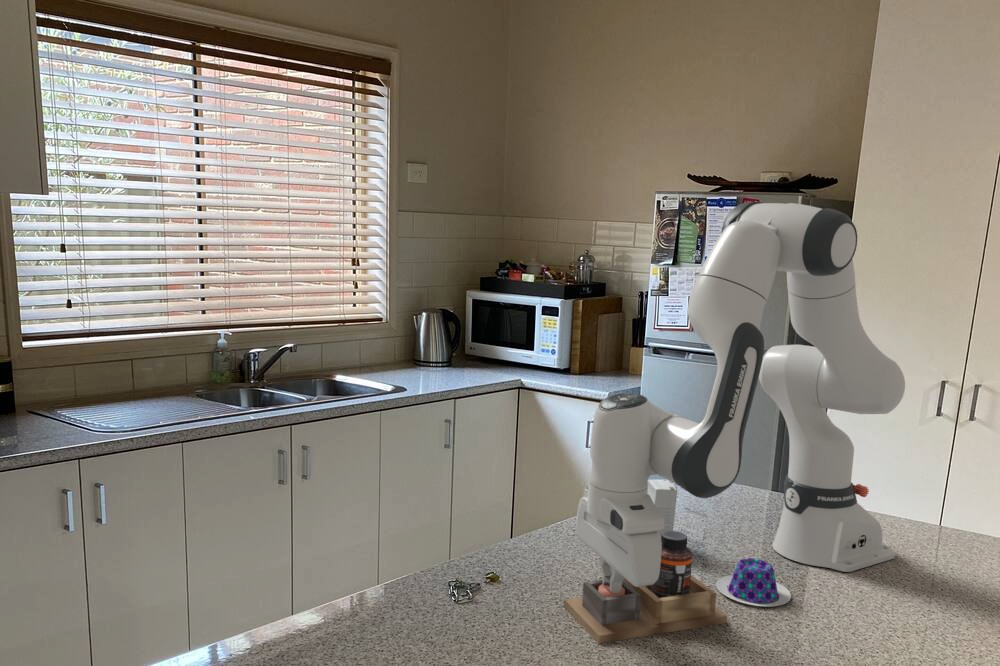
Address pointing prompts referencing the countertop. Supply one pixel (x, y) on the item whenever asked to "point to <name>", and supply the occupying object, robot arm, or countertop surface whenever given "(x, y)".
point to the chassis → (643, 611)
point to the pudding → (754, 584)
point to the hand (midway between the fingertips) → (611, 589)
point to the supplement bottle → (673, 566)
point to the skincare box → (664, 501)
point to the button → (607, 593)
